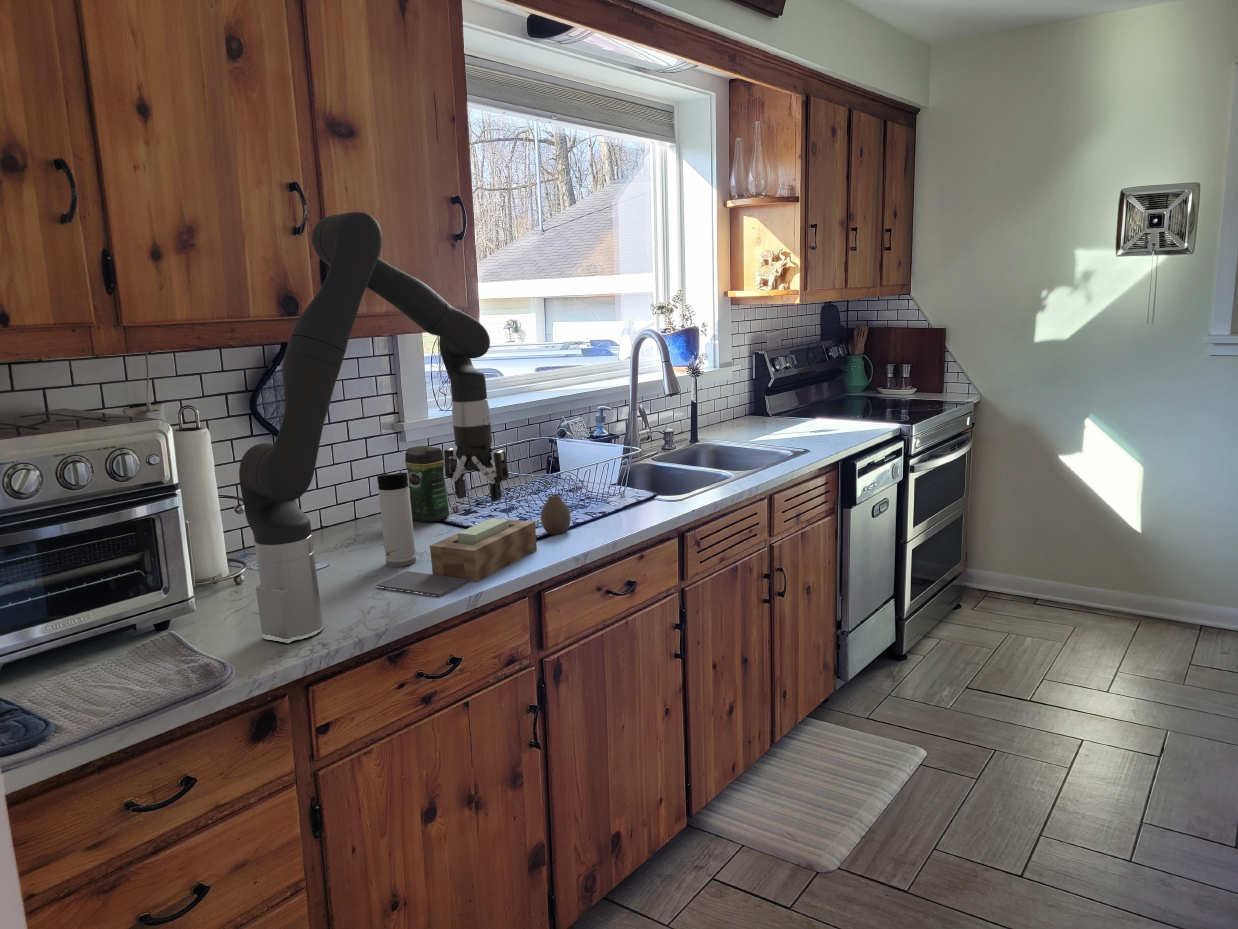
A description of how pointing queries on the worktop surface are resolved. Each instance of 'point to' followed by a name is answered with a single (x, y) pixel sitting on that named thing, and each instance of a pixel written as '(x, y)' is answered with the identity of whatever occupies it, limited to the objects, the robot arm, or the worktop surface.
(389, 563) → the travel mug
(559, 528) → the vase
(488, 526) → the block
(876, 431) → the worktop surface
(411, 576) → the grey flat plate
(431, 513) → the coffee jar
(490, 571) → the brown wooden box
